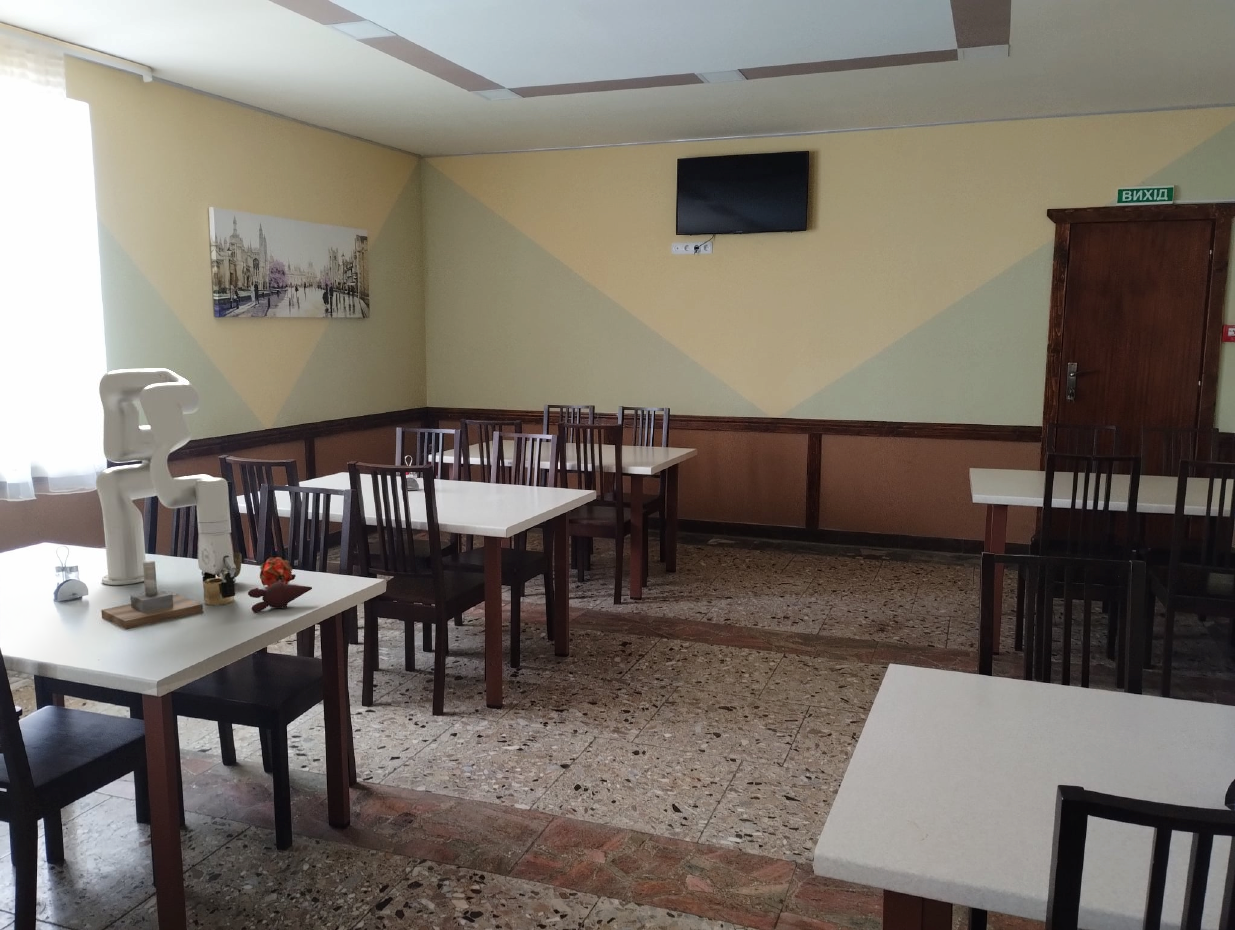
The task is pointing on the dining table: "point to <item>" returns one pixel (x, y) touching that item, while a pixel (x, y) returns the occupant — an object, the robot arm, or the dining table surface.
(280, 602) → the icecream
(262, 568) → the dragon fruit
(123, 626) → the shaft stand
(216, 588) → the hub
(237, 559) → the cup
